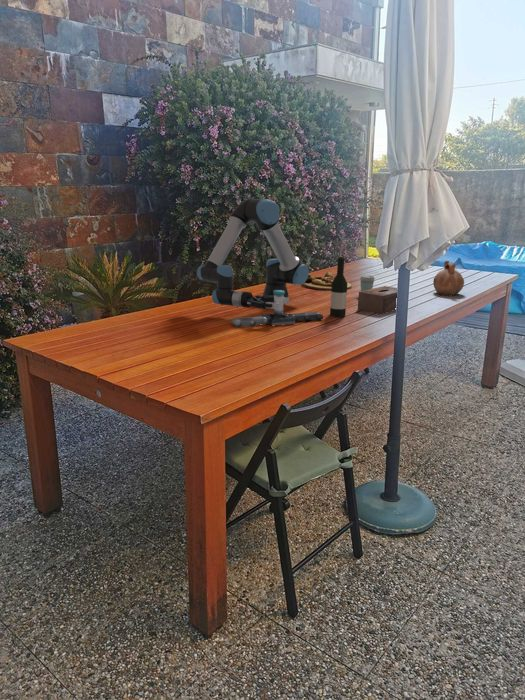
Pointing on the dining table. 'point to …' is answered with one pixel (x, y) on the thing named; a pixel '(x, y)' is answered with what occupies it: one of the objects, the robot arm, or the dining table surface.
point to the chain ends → (276, 319)
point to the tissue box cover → (378, 300)
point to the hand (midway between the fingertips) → (284, 303)
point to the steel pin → (278, 299)
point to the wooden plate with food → (321, 282)
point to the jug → (448, 280)
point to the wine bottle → (339, 291)
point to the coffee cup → (366, 282)
